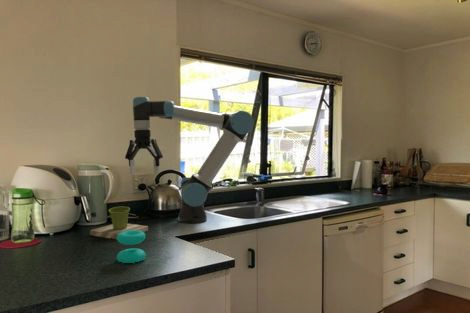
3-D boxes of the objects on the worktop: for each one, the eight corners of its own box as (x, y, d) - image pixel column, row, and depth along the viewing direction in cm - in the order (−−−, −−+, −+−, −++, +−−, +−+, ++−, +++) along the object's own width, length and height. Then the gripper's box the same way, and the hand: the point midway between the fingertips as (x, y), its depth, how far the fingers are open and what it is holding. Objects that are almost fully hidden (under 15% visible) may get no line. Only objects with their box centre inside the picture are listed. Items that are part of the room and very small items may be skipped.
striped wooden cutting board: (147, 232, 180) (147, 226, 180) (120, 241, 164) (120, 234, 164) (118, 228, 188) (118, 222, 188) (90, 236, 172) (90, 230, 171)
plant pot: (120, 232, 169) (119, 213, 168) (104, 228, 174) (104, 210, 172) (134, 226, 177) (134, 208, 176) (119, 222, 182) (119, 205, 180)
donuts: (129, 237, 129) (110, 233, 135) (130, 266, 130) (110, 261, 135) (151, 231, 137) (132, 228, 143) (151, 259, 138) (132, 254, 143)
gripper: (168, 128, 183) (170, 172, 184) (126, 130, 192) (128, 172, 193) (159, 128, 176) (162, 174, 177) (116, 130, 185) (118, 173, 186)
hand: (144, 173), depth 185 cm, fingers open, 13 cm apart
